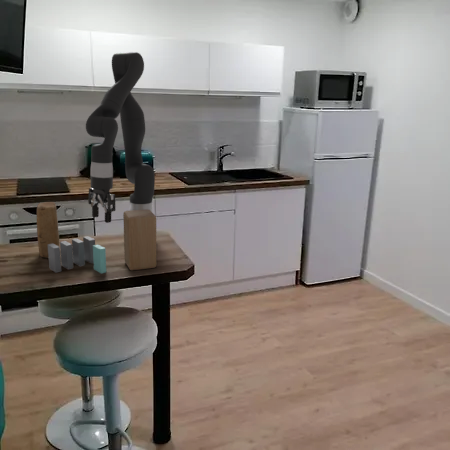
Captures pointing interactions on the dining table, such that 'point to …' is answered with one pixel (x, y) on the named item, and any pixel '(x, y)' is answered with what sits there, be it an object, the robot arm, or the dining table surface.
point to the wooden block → (139, 239)
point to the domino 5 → (99, 258)
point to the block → (47, 227)
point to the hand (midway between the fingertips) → (101, 219)
